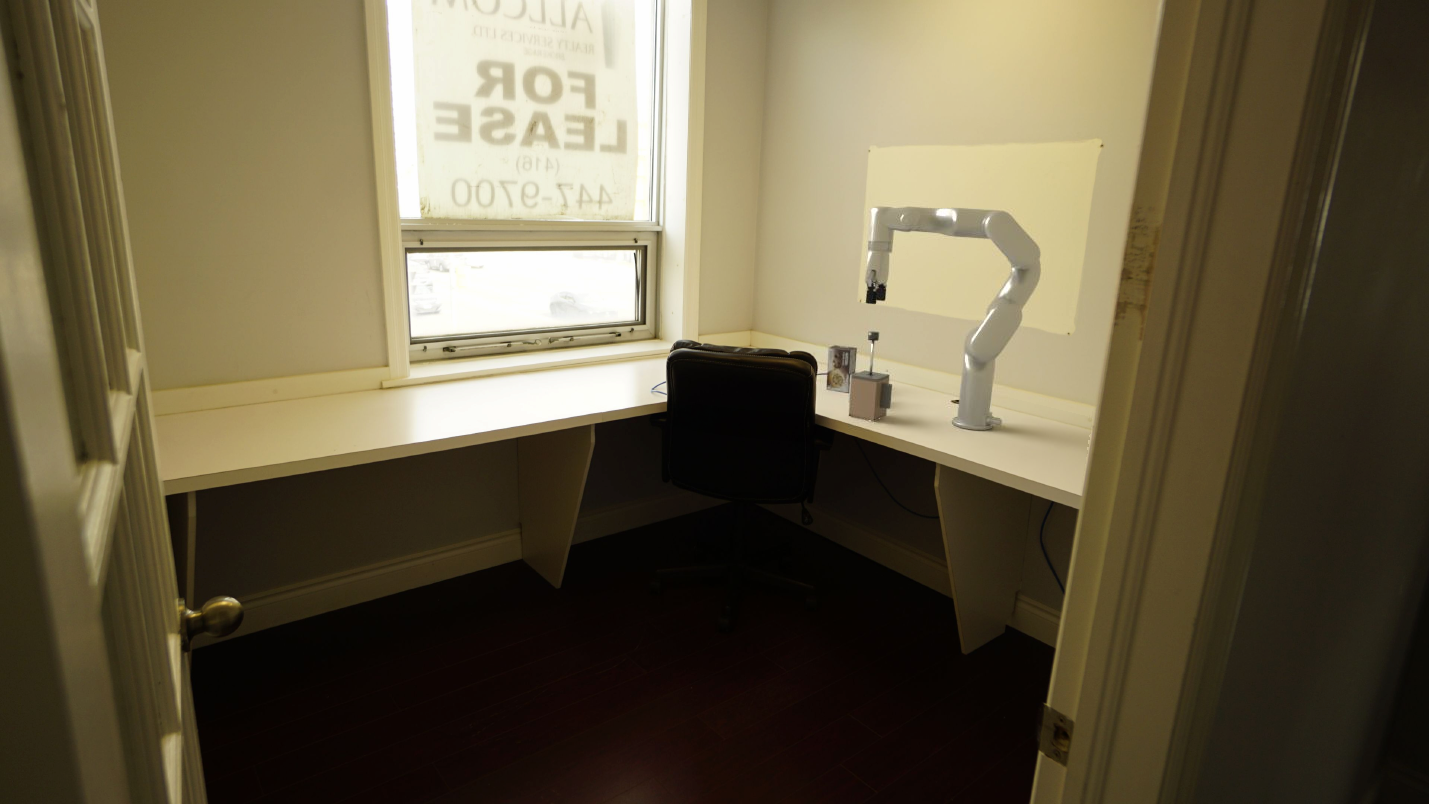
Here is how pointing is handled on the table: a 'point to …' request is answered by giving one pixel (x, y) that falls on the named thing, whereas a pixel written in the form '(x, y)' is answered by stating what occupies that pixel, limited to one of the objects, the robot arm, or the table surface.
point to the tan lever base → (869, 395)
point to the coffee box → (840, 367)
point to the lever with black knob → (872, 347)
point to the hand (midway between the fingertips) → (875, 302)
